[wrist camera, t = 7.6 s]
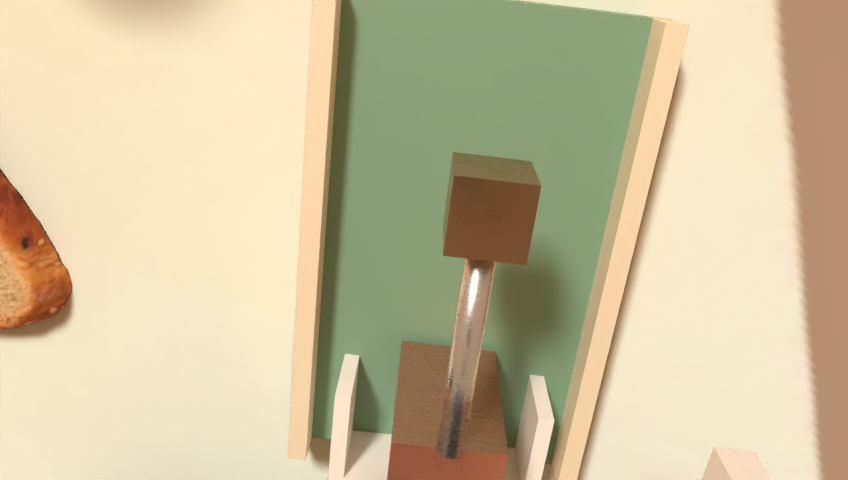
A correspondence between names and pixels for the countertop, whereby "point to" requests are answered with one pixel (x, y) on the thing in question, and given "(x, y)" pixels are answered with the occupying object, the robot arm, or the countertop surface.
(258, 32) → the countertop surface
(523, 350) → the pitch
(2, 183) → the slice of bread
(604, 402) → the countertop surface
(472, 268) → the rod
